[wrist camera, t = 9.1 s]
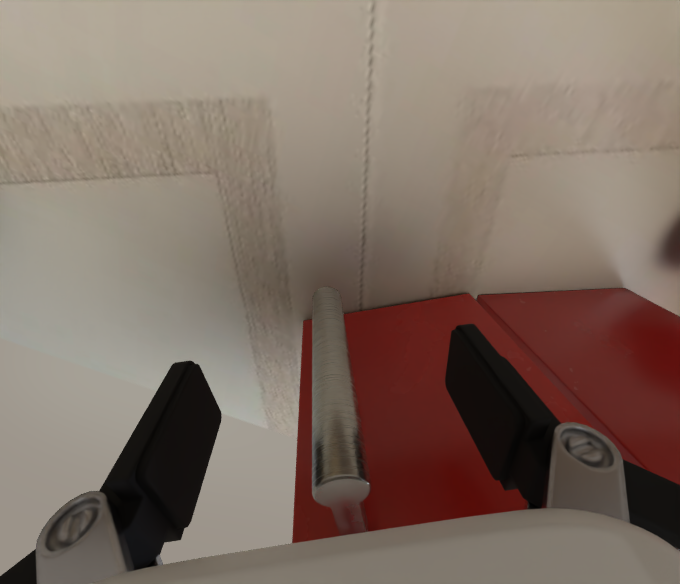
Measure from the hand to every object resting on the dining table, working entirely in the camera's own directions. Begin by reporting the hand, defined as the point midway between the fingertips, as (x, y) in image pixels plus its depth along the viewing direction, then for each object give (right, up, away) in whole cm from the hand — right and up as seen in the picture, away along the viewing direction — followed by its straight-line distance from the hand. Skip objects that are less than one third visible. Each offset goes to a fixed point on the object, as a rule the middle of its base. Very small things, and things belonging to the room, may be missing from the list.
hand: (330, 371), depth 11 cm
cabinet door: (+4, +3, +10) cm, 11 cm away
